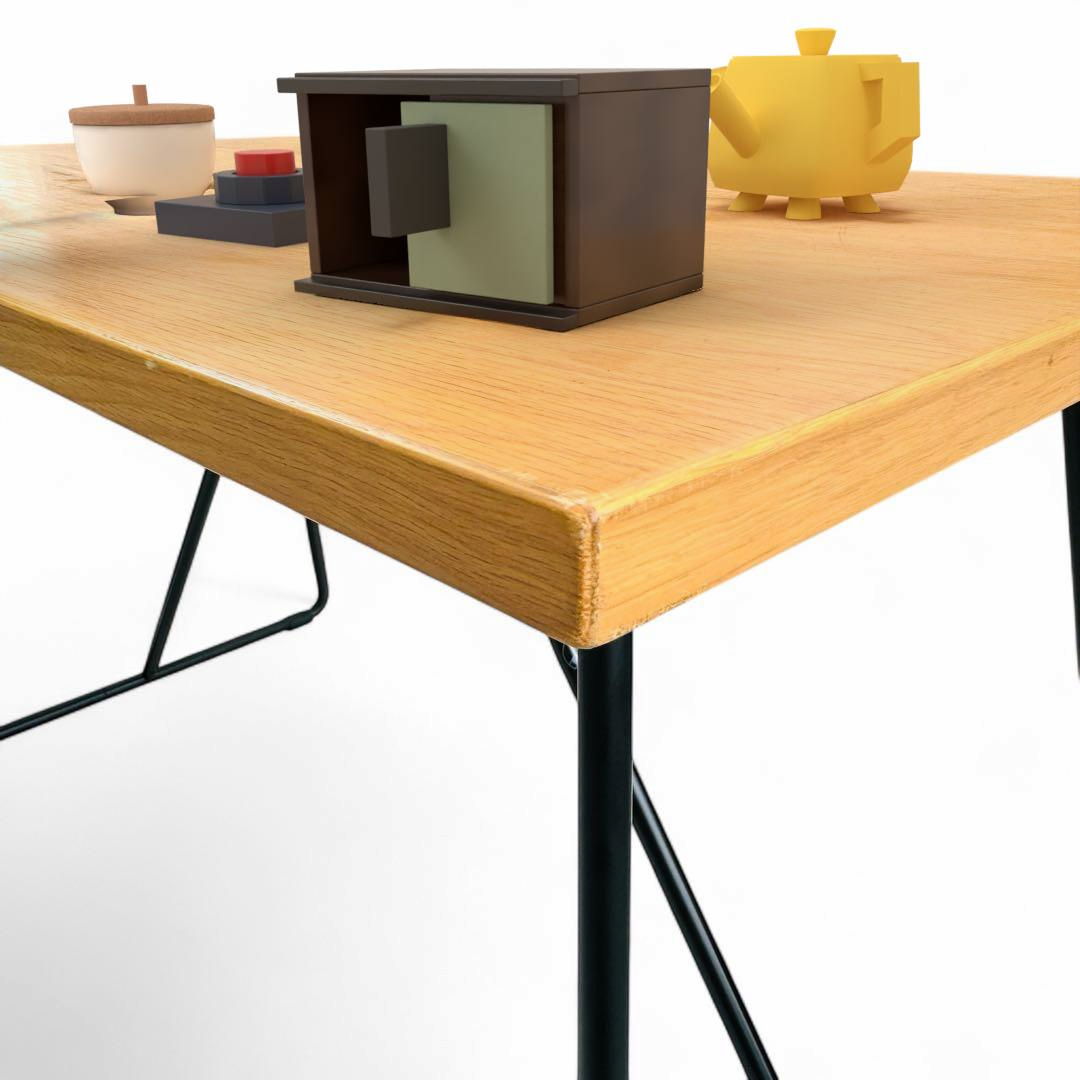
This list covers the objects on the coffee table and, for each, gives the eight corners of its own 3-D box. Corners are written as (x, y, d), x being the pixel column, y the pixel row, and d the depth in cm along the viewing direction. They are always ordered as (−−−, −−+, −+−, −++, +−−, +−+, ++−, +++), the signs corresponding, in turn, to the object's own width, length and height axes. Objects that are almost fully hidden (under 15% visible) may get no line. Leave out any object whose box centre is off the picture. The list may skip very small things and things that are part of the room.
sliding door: (489, 320, 51) (483, 108, 48) (350, 300, 55) (336, 105, 52) (554, 303, 54) (553, 103, 51) (417, 284, 59) (408, 101, 56)
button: (224, 179, 82) (221, 152, 82) (269, 174, 85) (266, 148, 85) (263, 182, 80) (261, 154, 79) (308, 177, 83) (306, 150, 82)
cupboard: (562, 332, 53) (561, 73, 49) (294, 291, 63) (275, 73, 59) (703, 288, 62) (712, 68, 58) (450, 259, 72) (442, 68, 68)
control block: (157, 233, 84) (150, 173, 82) (268, 218, 91) (263, 162, 90) (275, 248, 77) (269, 182, 76) (384, 229, 84) (381, 170, 83)
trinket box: (61, 211, 96) (41, 85, 93) (185, 200, 103) (171, 82, 99) (119, 224, 89) (100, 87, 85) (249, 210, 95) (237, 83, 92)
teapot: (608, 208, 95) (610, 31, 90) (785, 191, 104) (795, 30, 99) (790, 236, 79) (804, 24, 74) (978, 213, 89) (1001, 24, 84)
